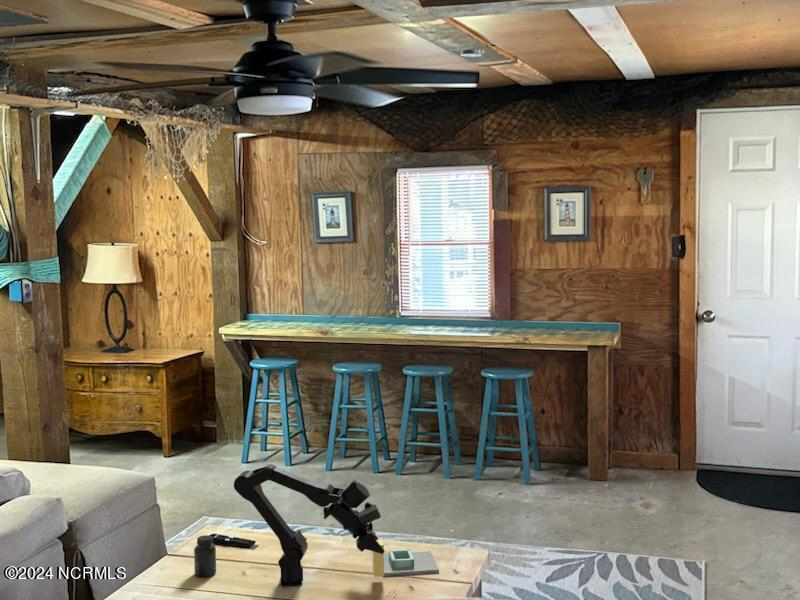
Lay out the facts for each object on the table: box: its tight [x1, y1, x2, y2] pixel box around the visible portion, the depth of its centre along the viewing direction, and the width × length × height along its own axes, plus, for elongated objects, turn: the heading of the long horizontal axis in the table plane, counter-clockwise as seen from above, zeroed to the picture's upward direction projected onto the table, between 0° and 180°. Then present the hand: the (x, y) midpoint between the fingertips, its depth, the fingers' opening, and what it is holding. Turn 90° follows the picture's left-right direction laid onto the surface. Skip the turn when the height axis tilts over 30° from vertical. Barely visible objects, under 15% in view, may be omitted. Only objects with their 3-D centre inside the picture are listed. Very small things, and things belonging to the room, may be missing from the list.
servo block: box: [372, 538, 385, 578], centre depth 279 cm, size 3×5×10 cm, turn 8°
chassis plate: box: [383, 548, 440, 577], centre depth 293 cm, size 18×16×4 cm
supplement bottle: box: [193, 534, 217, 579], centre depth 286 cm, size 7×7×12 cm
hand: (382, 549), depth 279 cm, fingers closed on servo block, 5 cm apart
